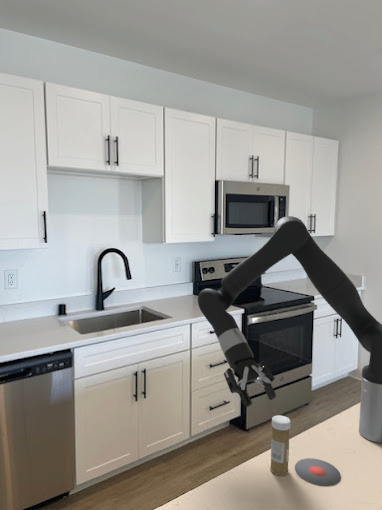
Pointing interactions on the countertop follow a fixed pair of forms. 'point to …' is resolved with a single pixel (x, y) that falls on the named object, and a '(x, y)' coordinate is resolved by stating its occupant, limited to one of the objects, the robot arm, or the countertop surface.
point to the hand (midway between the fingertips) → (261, 402)
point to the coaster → (317, 472)
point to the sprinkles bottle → (280, 445)
